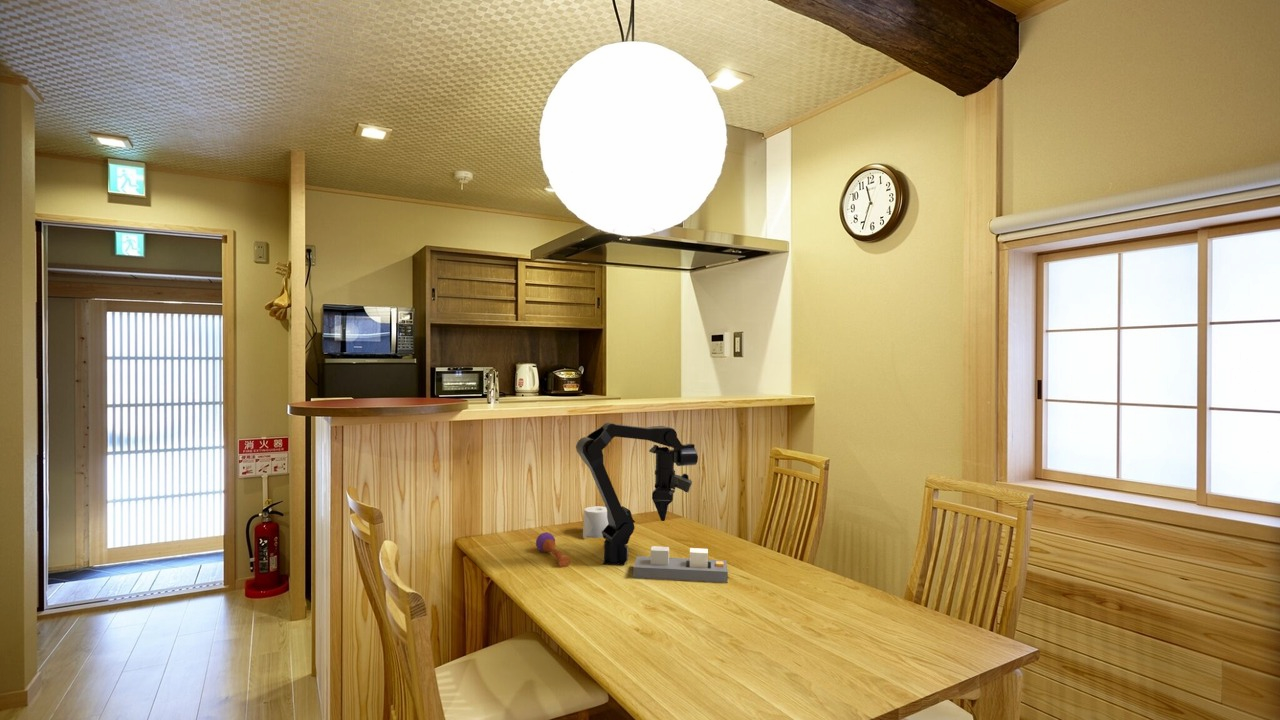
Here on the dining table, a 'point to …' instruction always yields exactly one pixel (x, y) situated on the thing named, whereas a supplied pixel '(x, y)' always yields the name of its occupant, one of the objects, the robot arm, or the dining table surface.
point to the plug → (698, 558)
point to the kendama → (551, 548)
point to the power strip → (677, 568)
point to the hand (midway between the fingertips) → (663, 517)
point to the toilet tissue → (594, 521)
